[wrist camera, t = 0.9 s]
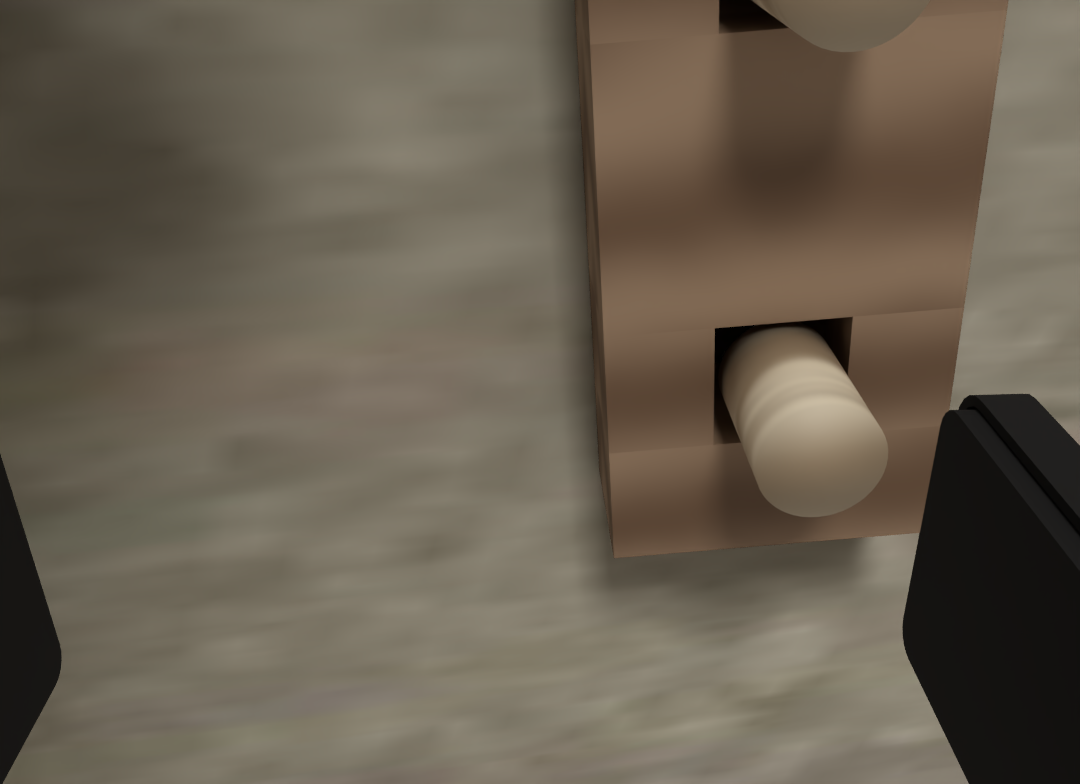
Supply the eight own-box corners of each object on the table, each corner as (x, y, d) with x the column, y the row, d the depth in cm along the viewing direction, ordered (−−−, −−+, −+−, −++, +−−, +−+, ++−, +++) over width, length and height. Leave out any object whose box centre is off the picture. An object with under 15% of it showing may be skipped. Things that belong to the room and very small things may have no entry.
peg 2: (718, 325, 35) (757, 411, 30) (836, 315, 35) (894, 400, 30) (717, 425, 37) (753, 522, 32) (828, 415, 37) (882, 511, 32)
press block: (557, -324, 30) (571, -353, 25) (965, -358, 30) (1065, -394, 25) (599, 469, 44) (614, 558, 39) (879, 446, 44) (931, 531, 39)
